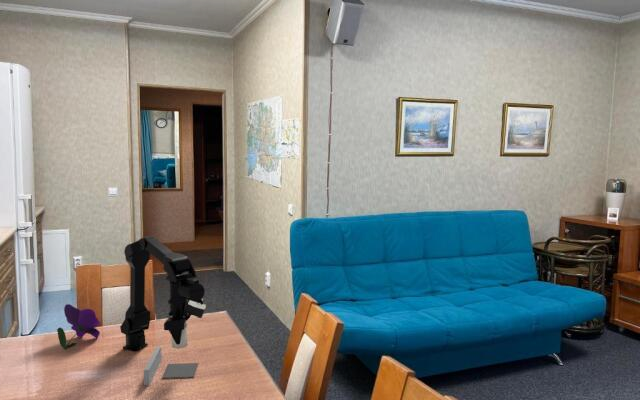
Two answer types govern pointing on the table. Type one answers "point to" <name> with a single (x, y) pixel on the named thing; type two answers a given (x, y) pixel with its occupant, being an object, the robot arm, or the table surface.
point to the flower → (79, 324)
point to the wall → (152, 366)
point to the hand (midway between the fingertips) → (179, 340)
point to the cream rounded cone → (183, 340)
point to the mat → (180, 370)
